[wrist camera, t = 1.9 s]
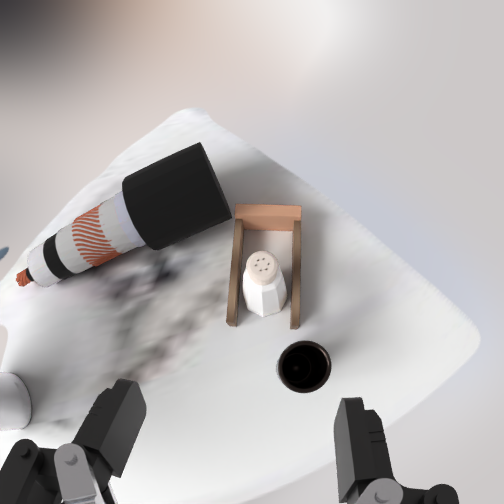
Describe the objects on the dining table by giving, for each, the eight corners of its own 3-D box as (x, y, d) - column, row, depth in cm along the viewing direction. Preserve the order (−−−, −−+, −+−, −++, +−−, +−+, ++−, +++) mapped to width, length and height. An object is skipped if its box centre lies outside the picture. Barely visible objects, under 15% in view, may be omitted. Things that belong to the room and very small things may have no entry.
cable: (47, 279, 45) (11, 238, 38) (223, 193, 44) (196, 132, 37) (33, 324, 37) (-11, 281, 30) (238, 233, 36) (204, 159, 30)
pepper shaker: (297, 297, 37) (306, 267, 27) (262, 326, 36) (258, 308, 26) (267, 265, 39) (265, 224, 28) (233, 293, 37) (218, 262, 27)
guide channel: (296, 329, 35) (299, 324, 32) (229, 326, 36) (224, 320, 32) (298, 221, 40) (301, 205, 37) (239, 219, 41) (235, 203, 37)
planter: (284, 392, 33) (289, 401, 23) (270, 357, 34) (269, 352, 25) (320, 377, 33) (339, 380, 23) (306, 342, 35) (319, 332, 25)
